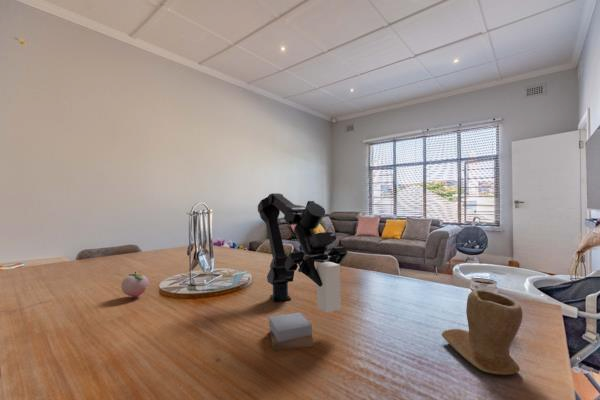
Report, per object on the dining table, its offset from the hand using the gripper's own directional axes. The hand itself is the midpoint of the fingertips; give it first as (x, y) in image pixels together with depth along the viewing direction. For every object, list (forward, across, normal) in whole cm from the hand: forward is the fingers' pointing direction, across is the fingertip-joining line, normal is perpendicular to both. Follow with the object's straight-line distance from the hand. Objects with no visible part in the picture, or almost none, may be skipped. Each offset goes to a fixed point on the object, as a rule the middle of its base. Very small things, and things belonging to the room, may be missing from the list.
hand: (328, 284), depth 74 cm
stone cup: (+29, +23, -10) cm, 38 cm away
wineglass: (+22, +43, -2) cm, 48 cm away
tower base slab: (+8, -10, +12) cm, 18 cm away
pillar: (+4, 0, +5) cm, 7 cm away
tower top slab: (+6, -10, +11) cm, 16 cm away
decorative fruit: (-34, -48, +54) cm, 79 cm away
